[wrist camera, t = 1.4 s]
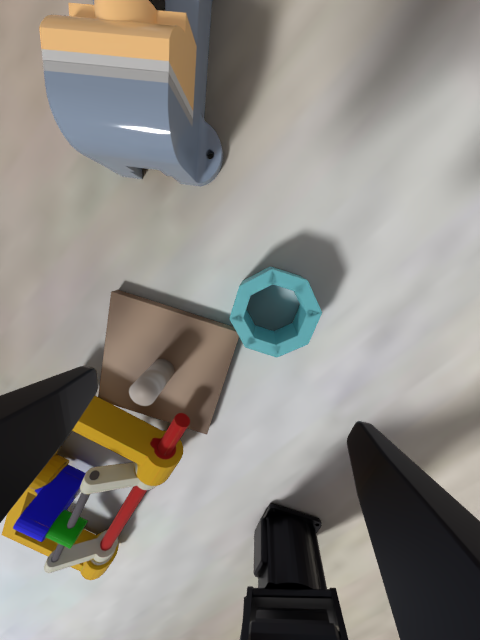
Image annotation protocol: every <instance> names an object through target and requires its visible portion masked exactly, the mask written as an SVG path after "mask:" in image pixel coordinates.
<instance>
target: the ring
mask: <svg viewBox="0 0 480 640" xmlns="http://www.w3.org/2000/svg"><path fill="white" fill-rule="evenodd" d="M273 284H274V285H277V286H280V287H283V288H286V289H289V290H292V291H294V293H295V295H296V297H297V299H298V301H299V303H300V305H299V308H298V310H297V313H296V315H295V317H294V320H293V322H292V323H291V324H289V325H286V326H284V327H282V328H280V329H278V330H275V331H272V330H269V329H266V328H262V327H259V326H256V325H255V324H254V322H253V320H252V318H251V317H250V315H249V313H248V311H247V309H246V308H247V305H248V302H249V299H250V296H251V295H253V294H255V293H257V292H259V291H261V290H263V289H265V288H267V287H269V286H271V285H273ZM321 314H322V311H321V309H320V307H319V305H318V302H317V300H316V298H315V296H314V294H313V291H312V289H311V287H310V285H309V282H308V281H307V280H306V279H304V278H303V277H301V276H299V275H296V274H293V273H290V272H287V271H284V270H280V269H277V268H274V267H268V268H266V269H264V270H262V271H260V272H258V273H257V274H255V275H253V276H251V277H249V278H247V279H245V280H243V281H242V283H241V284H240V286H239V289H238V292H237V295H236V299H235V302H234V305H233V308H232V312H231V315H230V318H229V319H230V321H231V323H232V325H233V326H234V328H235V330H236V332H237V334H238V335H239V337H240V339H241V341H242V343H243V344H244V346H245V347H246V348H249V349H252V350H255V351H258V352H261V353H264V354H267V355H271V356H274V357H279V356H282V355H284V354H286V353H289V352H291V351H293V350H296V349H298V348H300V347H303V346H305V345H307V344H309V341H310V339H311V337H312V334H313V332H314V330H315V328H316V325H317V323H318V321H319V319H320V316H321Z"/></svg>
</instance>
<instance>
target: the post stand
mask: <svg viewBox="0 0 480 640" xmlns="http://www.w3.org/2000/svg"><path fill="white" fill-rule="evenodd" d="M238 338H239V335H238V334H237V332H236V330H235V328H234V327H232V326H229V325H226V324H223V323H220V322H217V321H214V320H211V319H208V318H204V317H201V316H198V315H195V314H192V313H189V312H186V311H183V310H180V309H176V308H173V307H170V306H167V305H164V304H161V303H158V302H155V301H152V300H148V299H145V298H142V297H139V296H136V295H133V294H130V293H127V292H124V291H120V290H116V291H112V292H111V299H110V307H109V315H108V323H107V331H106V339H105V347H104V355H103V363H102V371H101V379H100V387H99V395H98V397H99V398H101V399H102V400H104V401H106V402H108V403H110V404H113V405H116V406H119V407H122V408H125V409H128V410H132V411H135V412H138V413H141V414H144V415H147V416H150V417H153V418H157V419H160V420H163V421H166V422H169V423H171V422H172V421H173V419H174V417H175V416H176V415H177V414H178V413H184V414H186V415H187V416H188V417H189V419H190V424H189V426H188V427H187V428H188V429H191V430H194V431H197V432H200V433H204V434H207V433H208V430H209V426H210V423H211V420H212V417H213V414H214V411H215V408H216V405H217V402H218V399H219V396H220V393H221V390H222V387H223V384H224V381H225V378H226V375H227V372H228V369H229V366H230V363H231V360H232V357H233V354H234V351H235V348H236V345H237V342H238Z"/></svg>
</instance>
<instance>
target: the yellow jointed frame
mask: <svg viewBox="0 0 480 640" xmlns="http://www.w3.org/2000/svg"><path fill="white" fill-rule="evenodd" d="M189 424H190V419H189V417H188V416H187V415H186V414H184V413H178V414H177V415H176V416H175V417H174V419H173V421H172V422H171V424H170V426H169V427H168V429H167V431H164V430H163V431H162V430H160V429H158V428H156V427H154V426H152V425H150V424H148V423H146V422H144V421H143V420H141V419H139V418H137V417H135V416H133V415H131V414H129V413H127V412H125V411H123V410H122V409H120V408H118V407H116V406H114V405H112V404H110V403H108V402H106V401H104V400H102V399H101V398H99V397H97V396H94V397H93V399H92V401H91V402H90V404H89V405H88V407H87V408H86V410H85V411H84V413H83V414H82V416H81V418H80V419H79V421H78V422H77V424H76V425H75V427H74V428H73V430H72V431H74V432H76V433H78V434H80V435H82V436H84V437H86V438H88V439H90V440H92V441H94V442H96V443H98V444H100V445H102V446H104V447H106V448H108V449H109V450H111V451H113V452H115V453H117V454H119V455H121V456H123V457H125V458H127V459H129V460H131V461H133V463H125V464H116V465H108V466H99V467H93V468H91V469H89V470H88V471H87V472H86V473H84V472H82V471H80V470H78V469H76V468H74V467H72V466H70V465H68V463H69V460H68V459H66V458H64V457H62V456H60V455H58V454H57V452H58V450H57V451H56V453H55V454H54V455H53V457H52V458H51V459H50V460H49V462H48V463H47V464H46V465H45V467H44V468H43V469H42V470H41V472H40V473H39V474H38V476H37V477H36V478H35V479H34V481H33V482H32V483H31V484H30V486H29V487H28V488H27V490H26V491H25V492H24V493H23V495H22V496H21V497H20V498H19V500H18V501H17V502H16V503H15V505H14V506H13V507H12V509H11V510H10V511H9V512H8V514H7V517H6V521H5V524H4V528H3V532H2V535H3V536H5V537H7V538H10V539H12V540H14V541H16V542H18V543H20V544H23V545H25V546H27V547H29V548H31V549H33V550H35V551H38V552H40V553H42V554H44V555H46V556H48V559H47V561H46V563H45V566H44V570H45V572H47V573H52V572H55V571H58V570H61V569H64V568H67V567H72V568H74V569H76V570H79V571H80V572H81V574H82V576H83V577H84V578H85V579H88V580H94V579H96V578H99V577H100V576H101V575H102V574H103V573H104V572H105V571H106V570H107V568H108V567H109V565H110V564H111V562H112V561H113V559H114V558H115V556H116V554H117V551H118V546H119V543H118V536H119V534H120V532H121V531H122V529H123V528H124V526H125V525H126V523H127V521H128V520H129V518H130V517H131V515H132V514H133V512H134V510H135V509H136V507H137V506H138V504H139V503H140V501H141V499H142V498H143V496H144V495H145V493H146V492H147V490H151V489H153V488H155V487H156V486H157V485H160V484H162V483H164V482H165V481H166V480H167V479H168V477H169V476H170V475H171V473H172V472H173V470H174V469H175V467H176V466H177V464H178V463H179V461H180V459H181V458H182V455H183V445H182V442H181V440H180V438H181V437H182V435H183V433H184V432H185V430H186V429H187V427H188V426H189ZM132 486H134V487H133V488H132V490H131V492H130V493H129V495H128V497H127V498H126V500H125V502H124V503H123V505H122V507H121V508H120V510H119V512H118V514H117V515H116V517H115V519H114V520H113V522H112V524H111V525H110V527H109V529H108V530H106V531H104V532H101V533H99V534H98V535H95V534H93V533H91V532H89V531H87V530H84V527H85V525H86V524H87V522H88V521H87V520H85V519H83V518H81V517H79V516H80V514H81V512H82V510H83V508H84V506H85V504H86V502H87V500H88V498H89V495H90V494H93V493H98V492H104V491H109V490H115V489H121V488H126V487H132ZM80 491H81V492H82V493H81V495H80V497H79V500H78V502H77V504H76V506H75V508H74V510H73V513H71V512H69V511H67V509H68V507H69V506H70V505H71V503H72V502H73V500H74V499H75V498H76V497H77V495H78V494H79V493H80Z"/></svg>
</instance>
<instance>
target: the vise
mask: <svg viewBox="0 0 480 640" xmlns="http://www.w3.org/2000/svg"><path fill="white" fill-rule="evenodd" d="M212 1H213V0H165V11H160V10H156V9H155V7H154V6H153V5H152V3H151V2H150V1H149V0H93V5H89V4H77V3H69V16H62V15H49V16H47V17H45V18H44V19H43V21H42V22H41V24H40V27H39V30H40V39H41V48H42V58H43V67H44V77H45V86H46V92H47V97H48V101H49V105H50V108H51V111H52V113H53V116H54V118H55V120H56V122H57V124H58V126H59V128H60V130H61V132H62V133H63V135H64V136H65V138H66V139H67V141H68V142H69V143H70V144H71V146H73V147H74V148H75V149H76V150H77V151H78V152H80V153H81V154H83V155H84V156H86V157H88V158H90V159H92V160H94V161H95V162H97V163H99V164H101V165H103V166H105V167H106V168H108V169H110V170H112V171H113V172H115V173H117V174H119V175H121V176H123V177H129V178H137V179H142V168H146V169H155V170H160V171H161V172H162V173H164V174H165V175H166V176H172V177H173V178H174V179H175V180H177V181H178V182H179V183H180V184H186V185H194V186H204V185H206V184H208V183H210V182H211V181H213V180H214V179H215V178H216V176H217V175H218V173H219V172H220V169H221V167H222V162H223V150H222V145H221V142H220V140H219V137H218V135H217V133H216V132H215V130H214V129H213V128H212V127H211V126H210V125H209V124H208V123H207V122H205V121H204V115H205V100H206V85H207V70H208V55H209V39H210V24H211V9H212ZM210 153H213V154H214V157H213V158H212V159H208V155H209V154H210Z"/></svg>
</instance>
